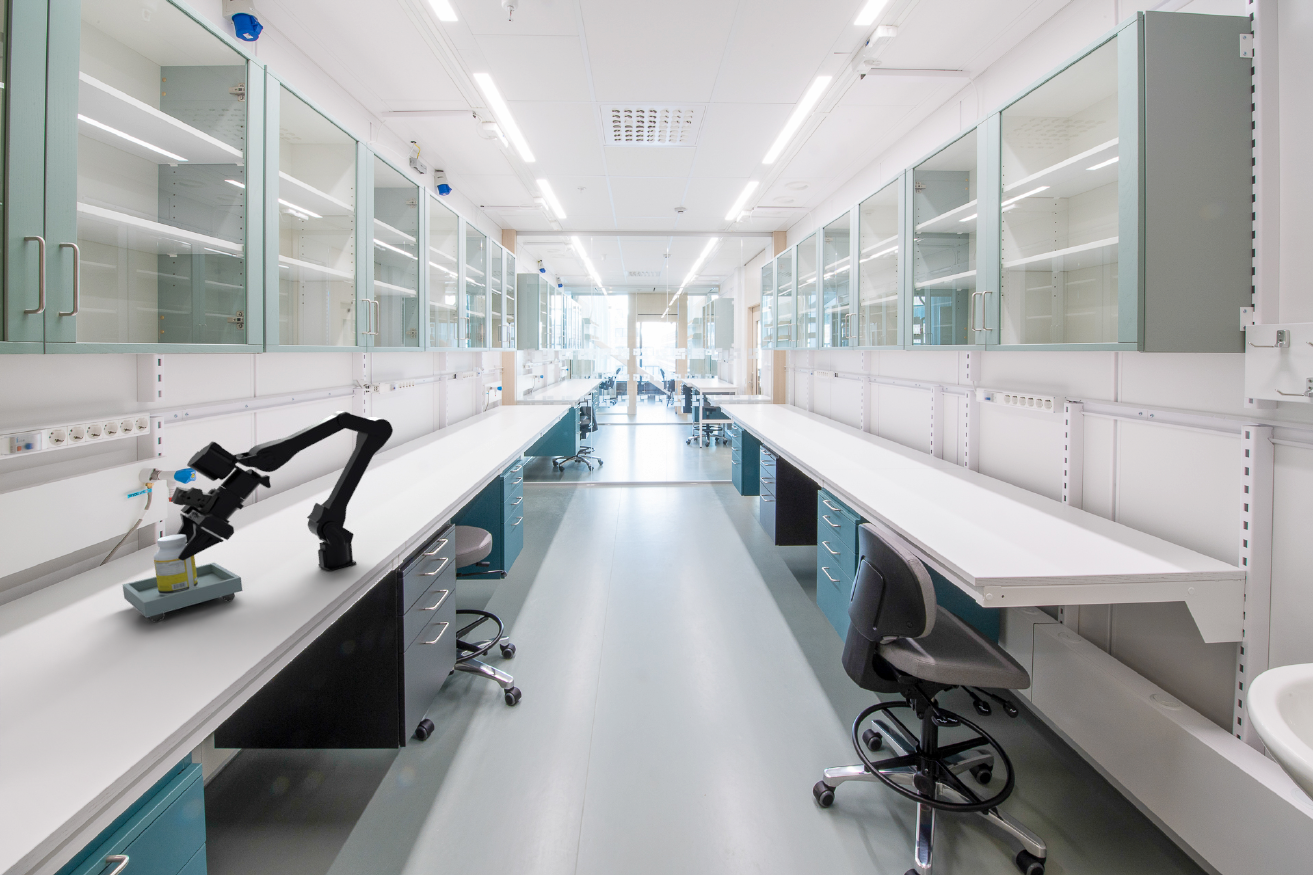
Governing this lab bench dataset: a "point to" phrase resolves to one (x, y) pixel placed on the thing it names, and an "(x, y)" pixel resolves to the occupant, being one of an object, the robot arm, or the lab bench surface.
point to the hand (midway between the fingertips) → (175, 554)
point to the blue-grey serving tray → (210, 586)
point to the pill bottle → (174, 566)
